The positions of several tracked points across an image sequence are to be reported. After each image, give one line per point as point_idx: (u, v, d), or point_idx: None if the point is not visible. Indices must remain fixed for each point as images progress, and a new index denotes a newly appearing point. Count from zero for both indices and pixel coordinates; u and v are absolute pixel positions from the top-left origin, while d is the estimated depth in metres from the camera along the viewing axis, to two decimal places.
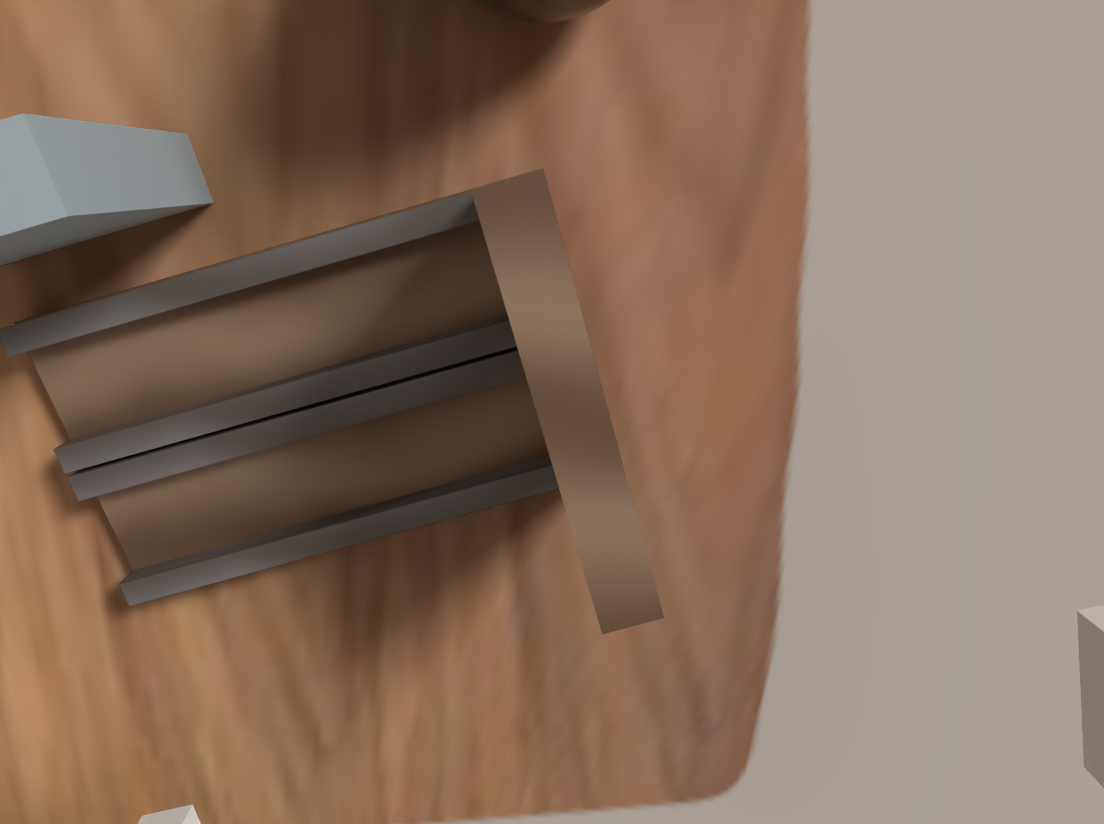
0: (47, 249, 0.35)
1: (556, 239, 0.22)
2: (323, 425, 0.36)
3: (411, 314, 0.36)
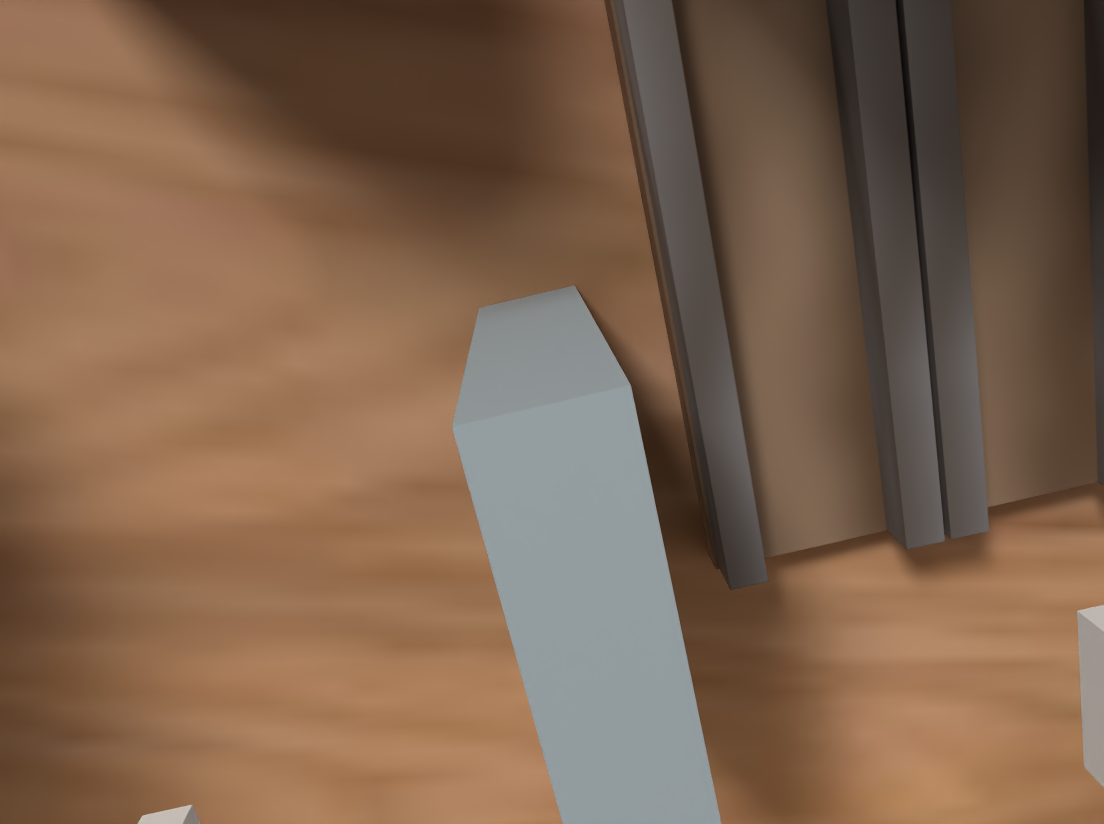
0: None
1: None
2: (948, 140, 0.22)
3: None
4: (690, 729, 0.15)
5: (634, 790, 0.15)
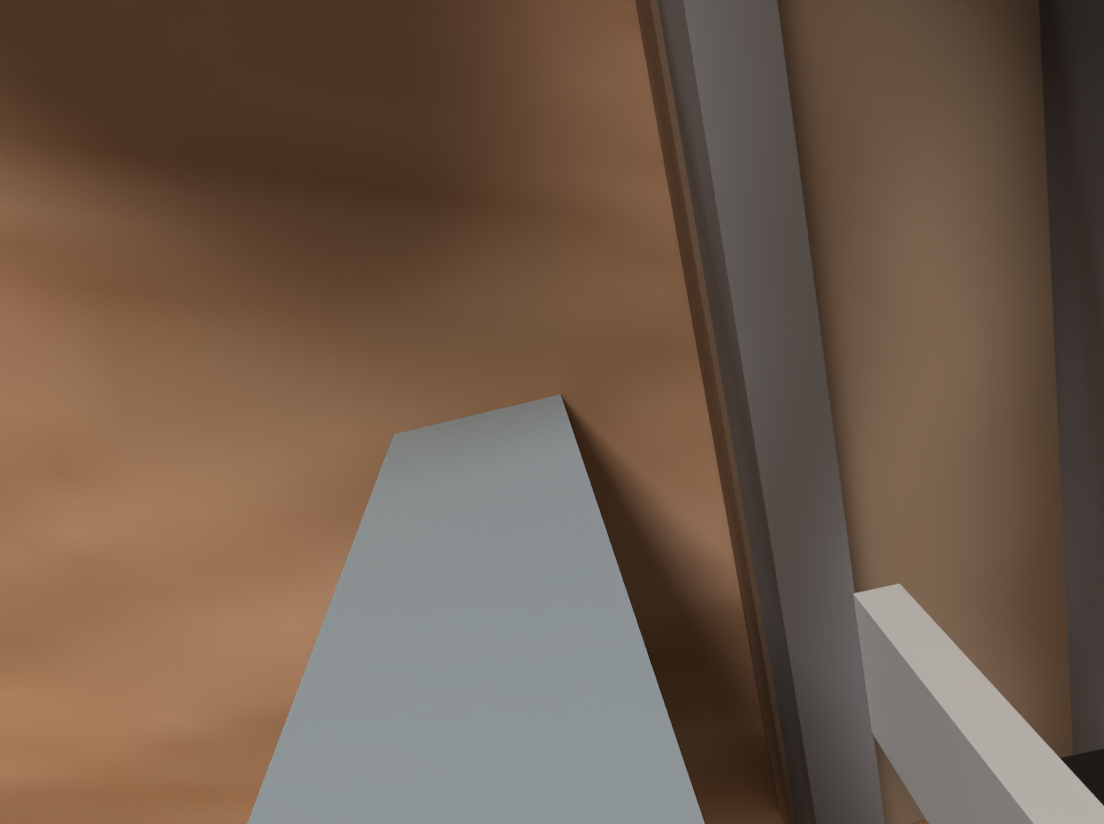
0: None
1: None
2: None
3: None
4: None
5: None
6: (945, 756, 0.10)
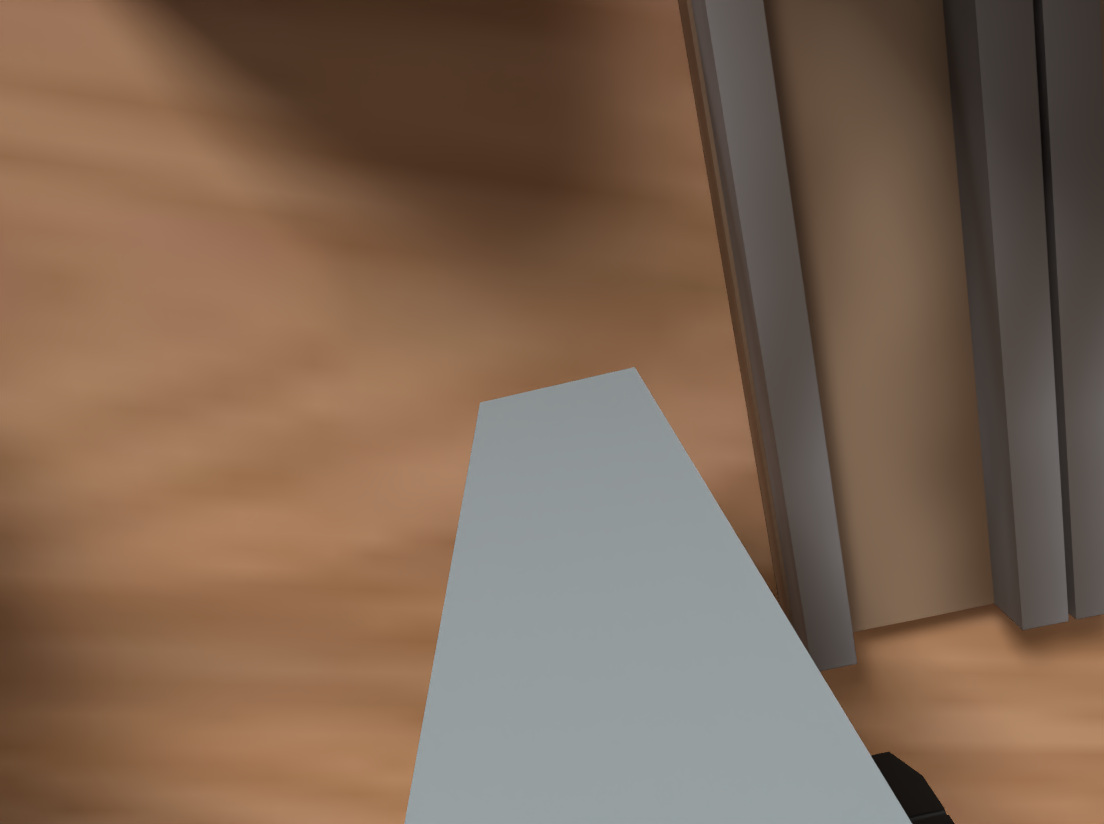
0: None
1: None
2: (1090, 150, 0.18)
3: None
4: None
5: None
6: None
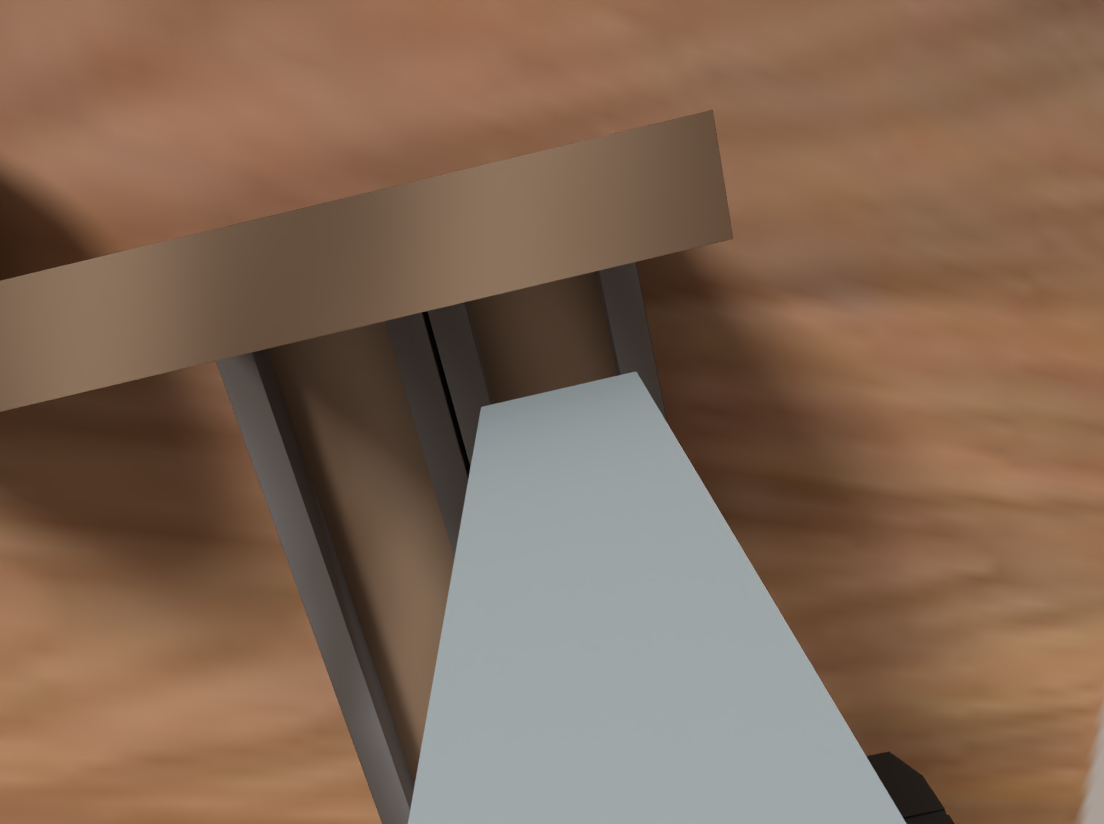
0: None
1: None
2: None
3: (384, 414, 0.28)
4: None
5: None
6: None
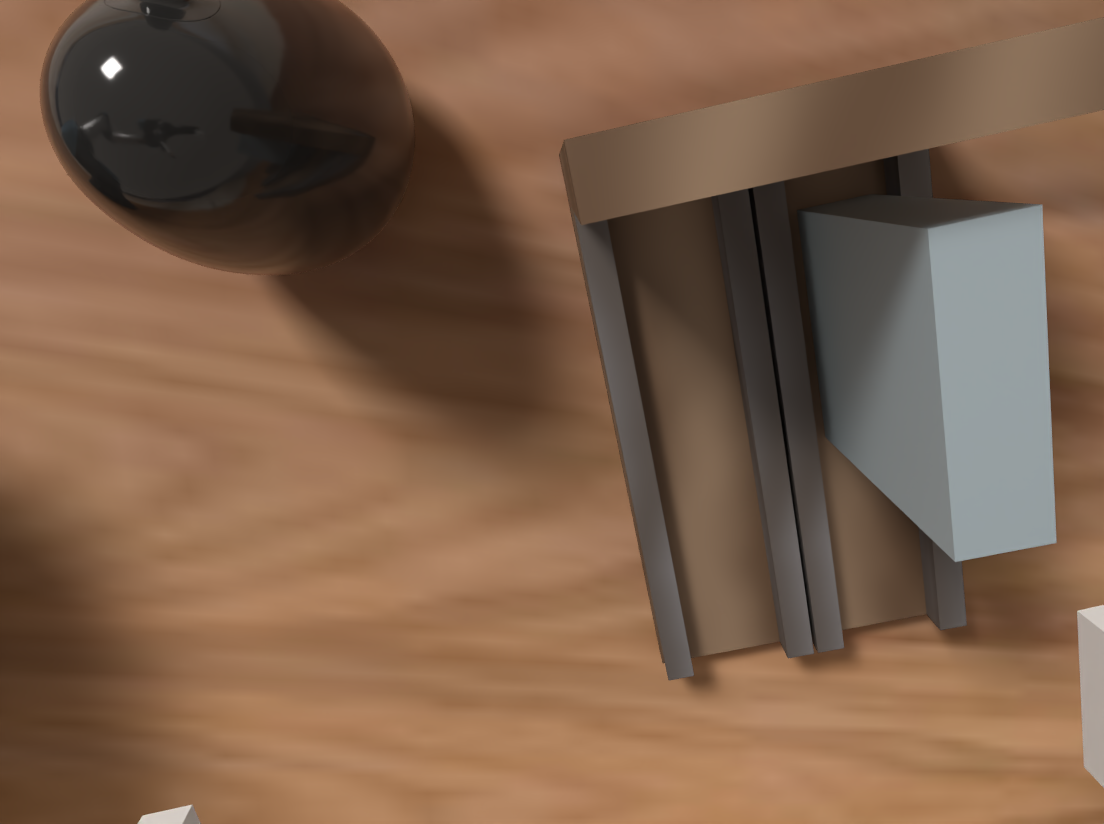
0: None
1: (644, 128, 0.19)
2: (805, 407, 0.34)
3: (697, 301, 0.34)
4: (1044, 445, 0.23)
5: (1001, 488, 0.24)
6: None
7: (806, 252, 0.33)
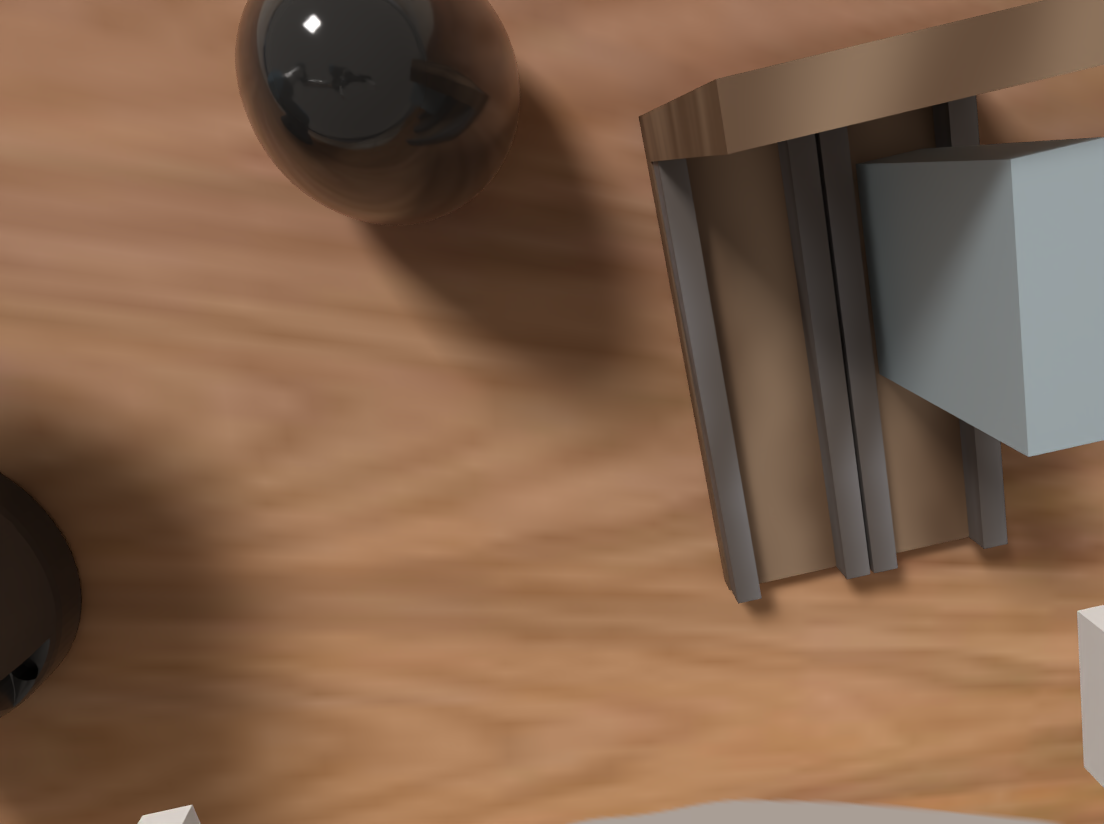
0: None
1: (784, 69, 0.22)
2: (864, 344, 0.37)
3: (765, 250, 0.37)
4: None
5: (1069, 389, 0.27)
6: None
7: (865, 202, 0.36)
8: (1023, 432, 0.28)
